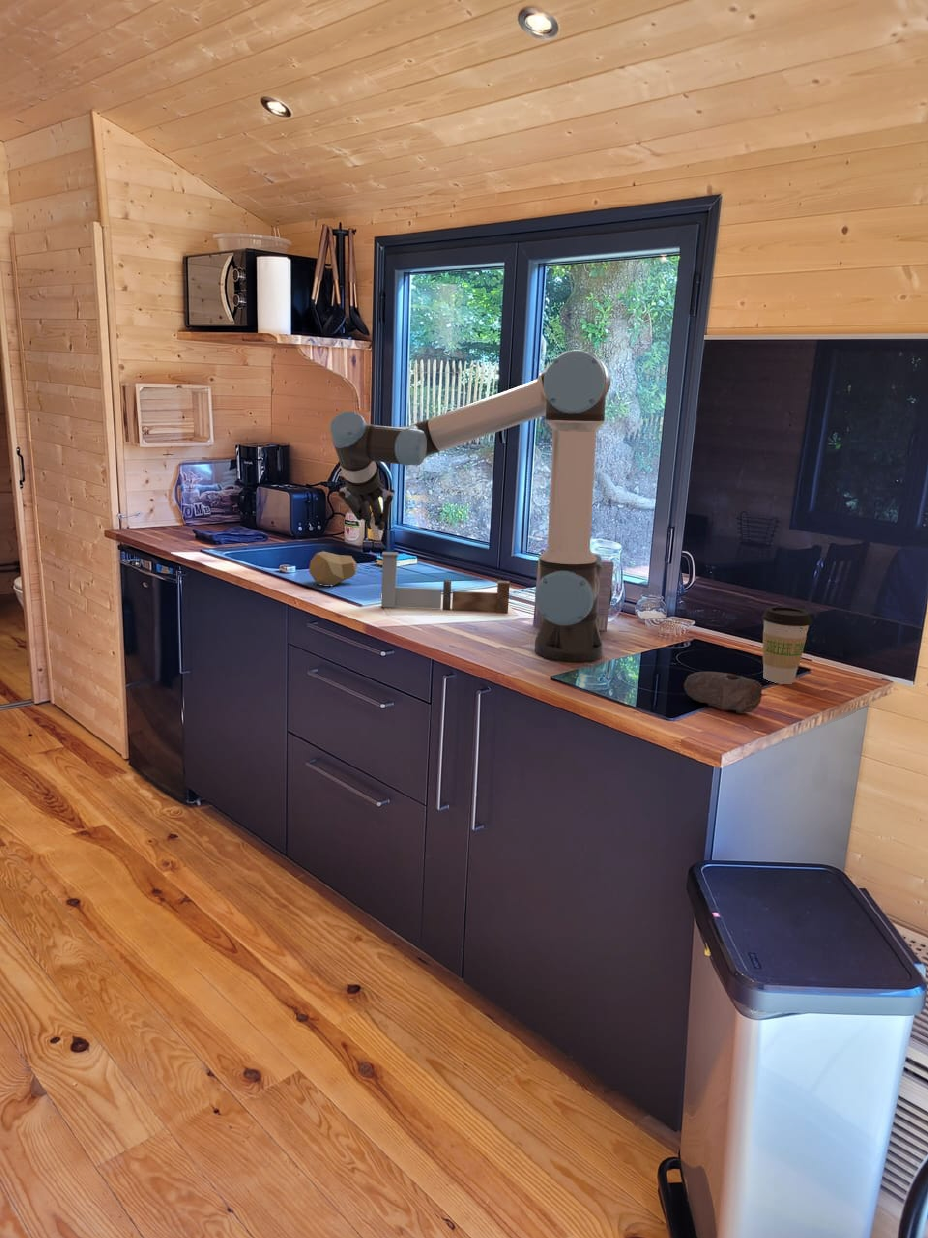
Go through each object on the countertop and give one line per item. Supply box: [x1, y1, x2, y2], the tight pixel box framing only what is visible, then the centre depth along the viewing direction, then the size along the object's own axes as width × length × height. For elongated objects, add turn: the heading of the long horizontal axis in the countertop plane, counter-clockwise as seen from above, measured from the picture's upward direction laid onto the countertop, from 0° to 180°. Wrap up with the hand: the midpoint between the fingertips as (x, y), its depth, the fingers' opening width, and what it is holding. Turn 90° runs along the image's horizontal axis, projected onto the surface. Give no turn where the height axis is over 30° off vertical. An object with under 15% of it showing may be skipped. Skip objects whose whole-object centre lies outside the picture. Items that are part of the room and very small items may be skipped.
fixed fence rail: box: [442, 580, 511, 614], centre depth 239 cm, size 17×3×8 cm, turn 90°
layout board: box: [380, 593, 520, 617], centre depth 246 cm, size 24×34×1 cm
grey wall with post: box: [380, 551, 442, 609], centre depth 238 cm, size 16×4×14 cm, turn 90°
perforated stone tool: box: [683, 671, 763, 714], centre depth 175 cm, size 15×5×7 cm, turn 47°
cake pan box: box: [532, 556, 614, 632], centre depth 227 cm, size 19×5×18 cm, turn 99°
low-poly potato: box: [308, 551, 358, 586], centre depth 264 cm, size 15×11×12 cm
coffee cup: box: [761, 605, 813, 685], centre depth 193 cm, size 10×10×15 cm
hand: (378, 535), depth 222 cm, fingers closed
